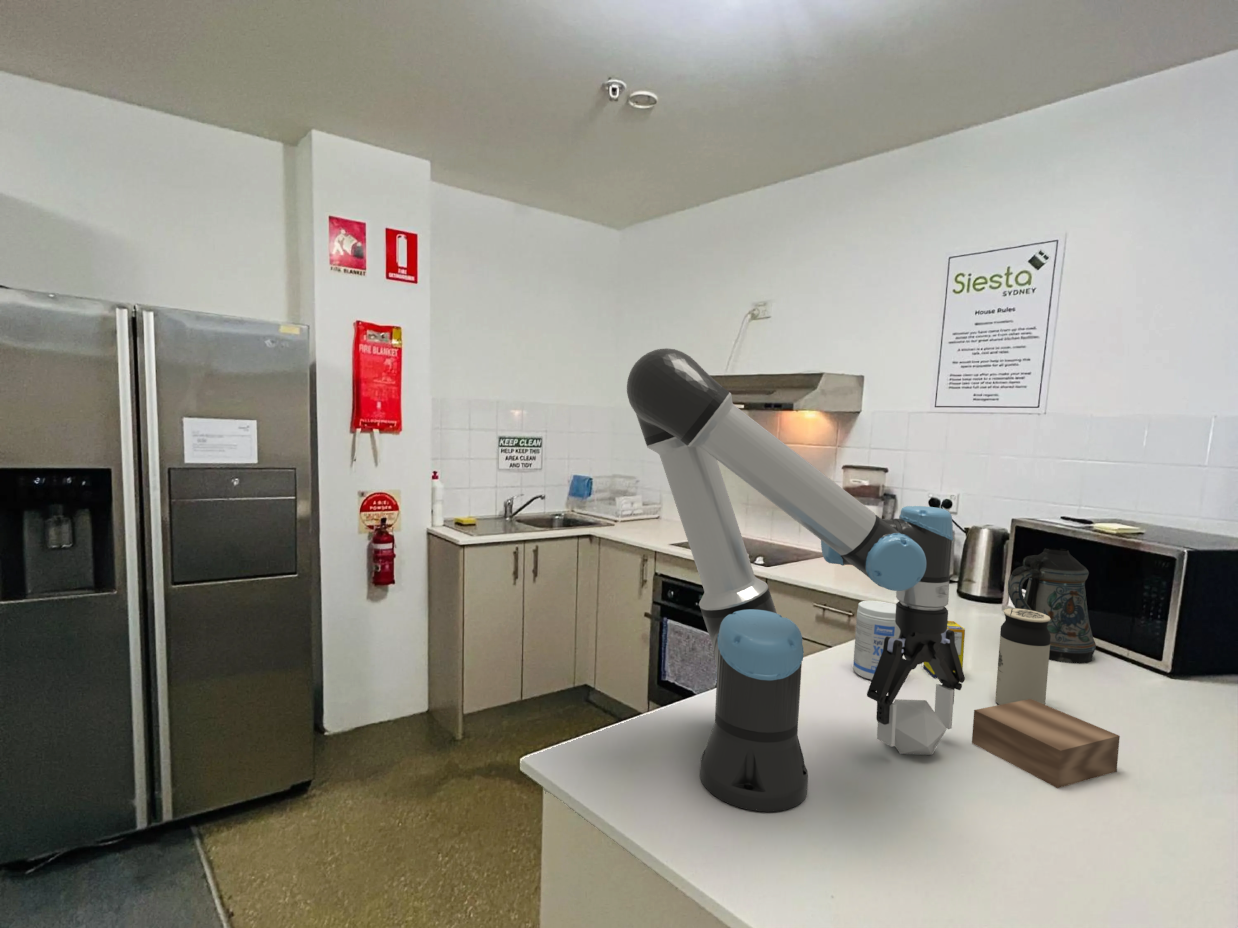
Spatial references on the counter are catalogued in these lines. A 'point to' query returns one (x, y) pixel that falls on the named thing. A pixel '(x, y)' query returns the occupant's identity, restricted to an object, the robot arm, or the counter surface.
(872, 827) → the counter surface
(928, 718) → the die
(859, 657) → the supplement tub
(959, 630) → the supplement box
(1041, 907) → the counter surface
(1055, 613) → the beer stein
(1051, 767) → the walnut block
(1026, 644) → the travel mug
